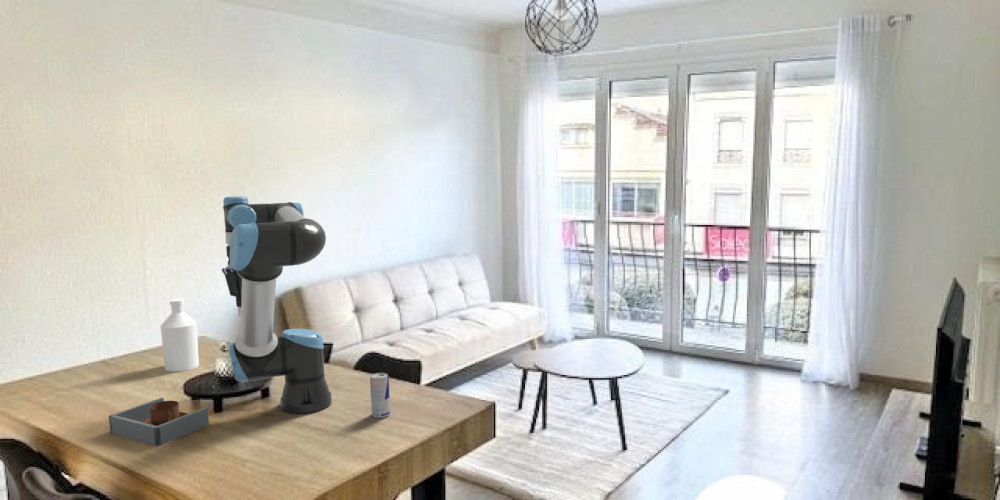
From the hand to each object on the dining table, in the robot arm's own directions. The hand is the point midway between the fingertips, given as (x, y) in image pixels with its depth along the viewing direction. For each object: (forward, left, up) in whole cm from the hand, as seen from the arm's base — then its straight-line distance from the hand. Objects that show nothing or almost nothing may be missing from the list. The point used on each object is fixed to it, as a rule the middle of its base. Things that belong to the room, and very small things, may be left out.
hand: (243, 315), depth 218 cm
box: (-6, +36, -24) cm, 44 cm away
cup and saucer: (-5, +34, -25) cm, 42 cm away
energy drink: (-56, +1, -24) cm, 61 cm away
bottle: (+40, -6, -25) cm, 48 cm away
